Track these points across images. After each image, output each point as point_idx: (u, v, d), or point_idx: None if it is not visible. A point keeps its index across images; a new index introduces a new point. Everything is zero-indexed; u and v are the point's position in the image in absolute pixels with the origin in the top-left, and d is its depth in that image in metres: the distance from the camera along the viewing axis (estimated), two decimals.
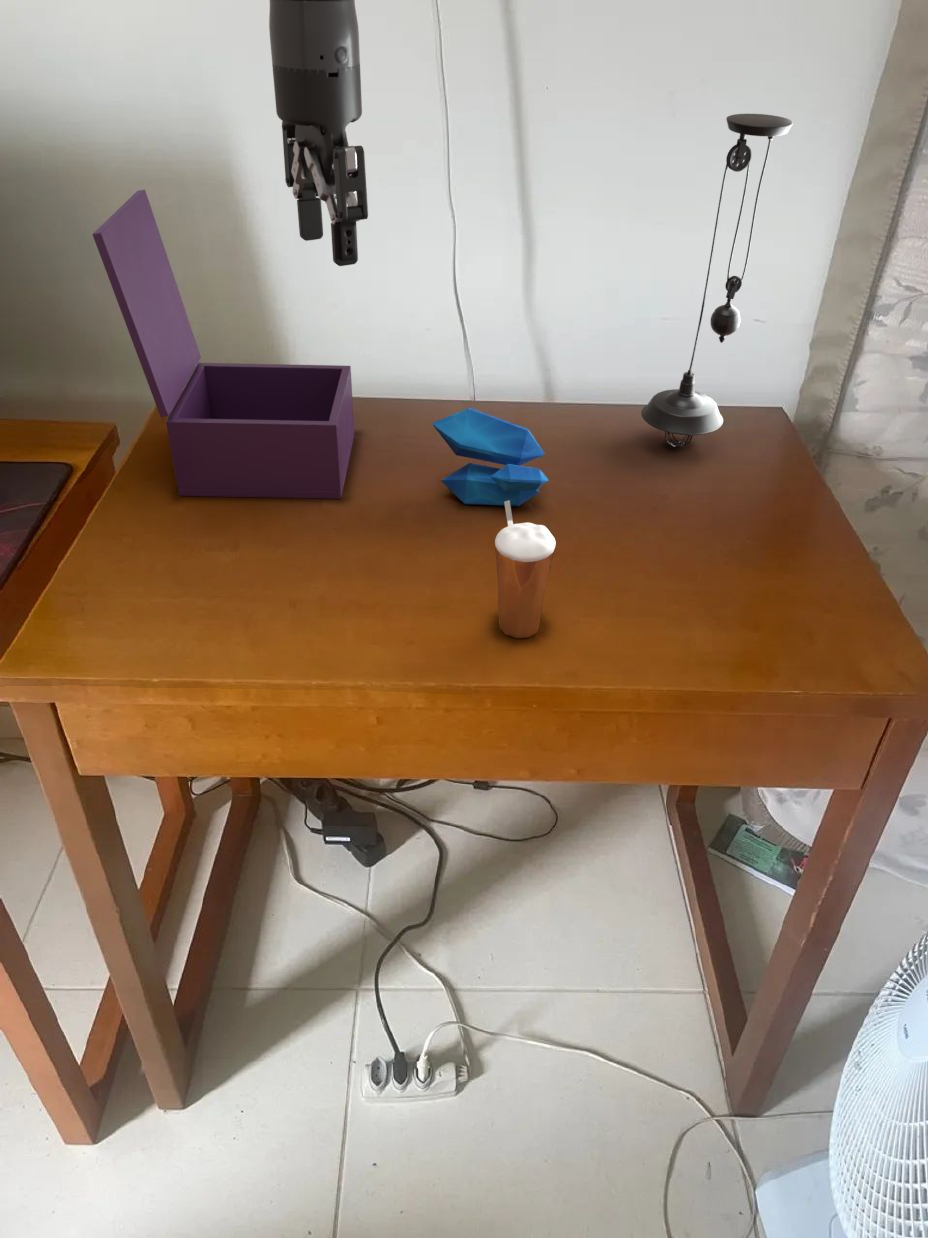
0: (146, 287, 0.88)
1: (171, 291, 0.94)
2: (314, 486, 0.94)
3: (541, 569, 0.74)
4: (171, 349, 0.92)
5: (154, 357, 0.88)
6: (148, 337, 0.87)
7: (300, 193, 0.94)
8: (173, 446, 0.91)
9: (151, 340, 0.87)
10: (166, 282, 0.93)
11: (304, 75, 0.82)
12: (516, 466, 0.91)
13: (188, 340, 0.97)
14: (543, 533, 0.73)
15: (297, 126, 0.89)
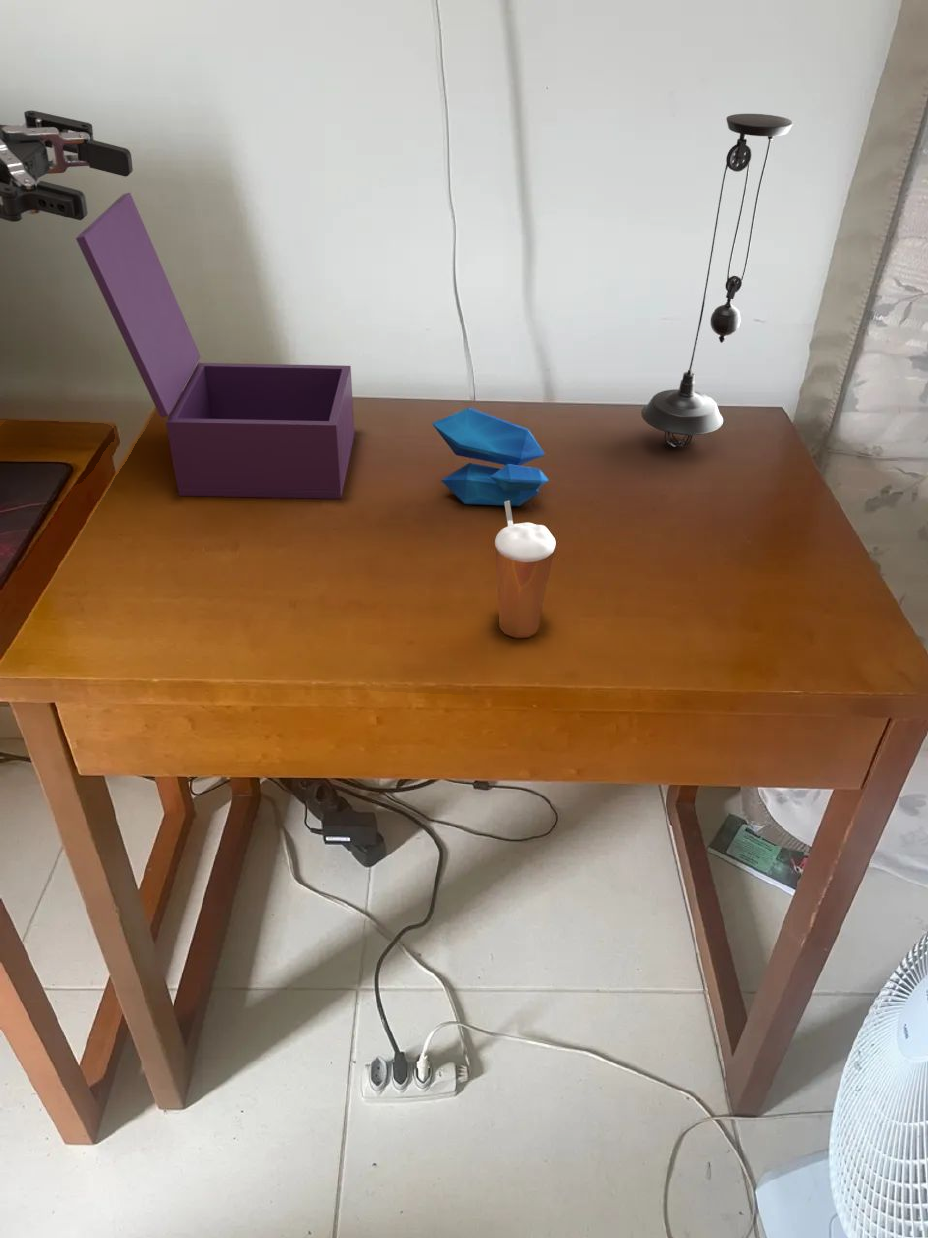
0: (137, 289, 0.88)
1: (165, 292, 0.94)
2: (314, 486, 0.94)
3: (541, 569, 0.74)
4: (167, 349, 0.92)
5: (149, 358, 0.88)
6: (141, 338, 0.87)
7: None
8: (173, 446, 0.91)
9: (144, 340, 0.87)
10: (158, 283, 0.93)
11: None
12: (516, 466, 0.91)
13: (186, 340, 0.97)
14: (543, 533, 0.73)
15: None
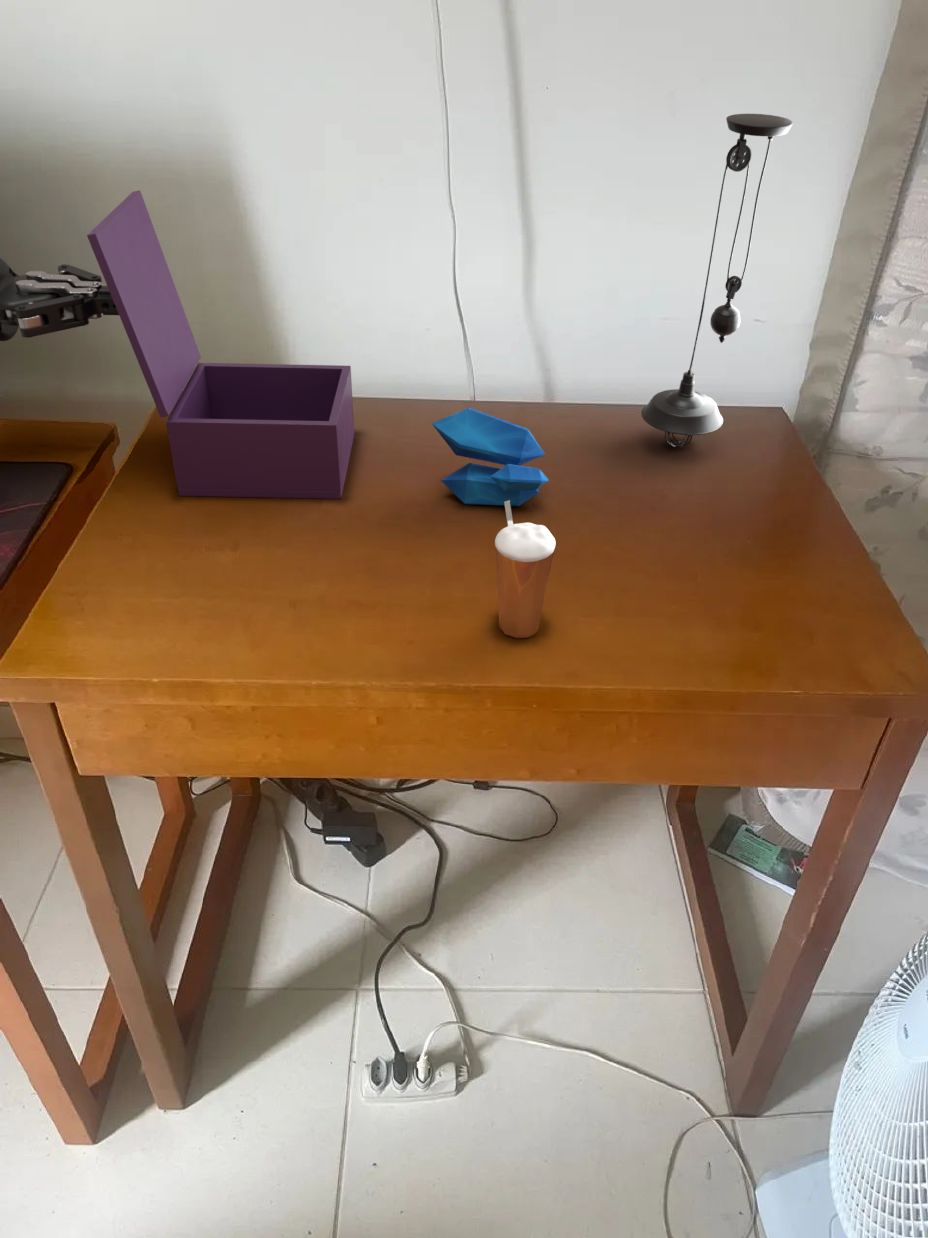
0: (143, 287, 0.88)
1: (169, 291, 0.94)
2: (314, 486, 0.94)
3: (541, 569, 0.74)
4: (170, 349, 0.92)
5: (152, 357, 0.88)
6: (146, 337, 0.87)
7: None
8: (173, 446, 0.91)
9: (149, 340, 0.87)
10: (163, 282, 0.93)
11: None
12: (516, 466, 0.91)
13: (187, 340, 0.97)
14: (543, 533, 0.73)
15: (0, 299, 0.86)
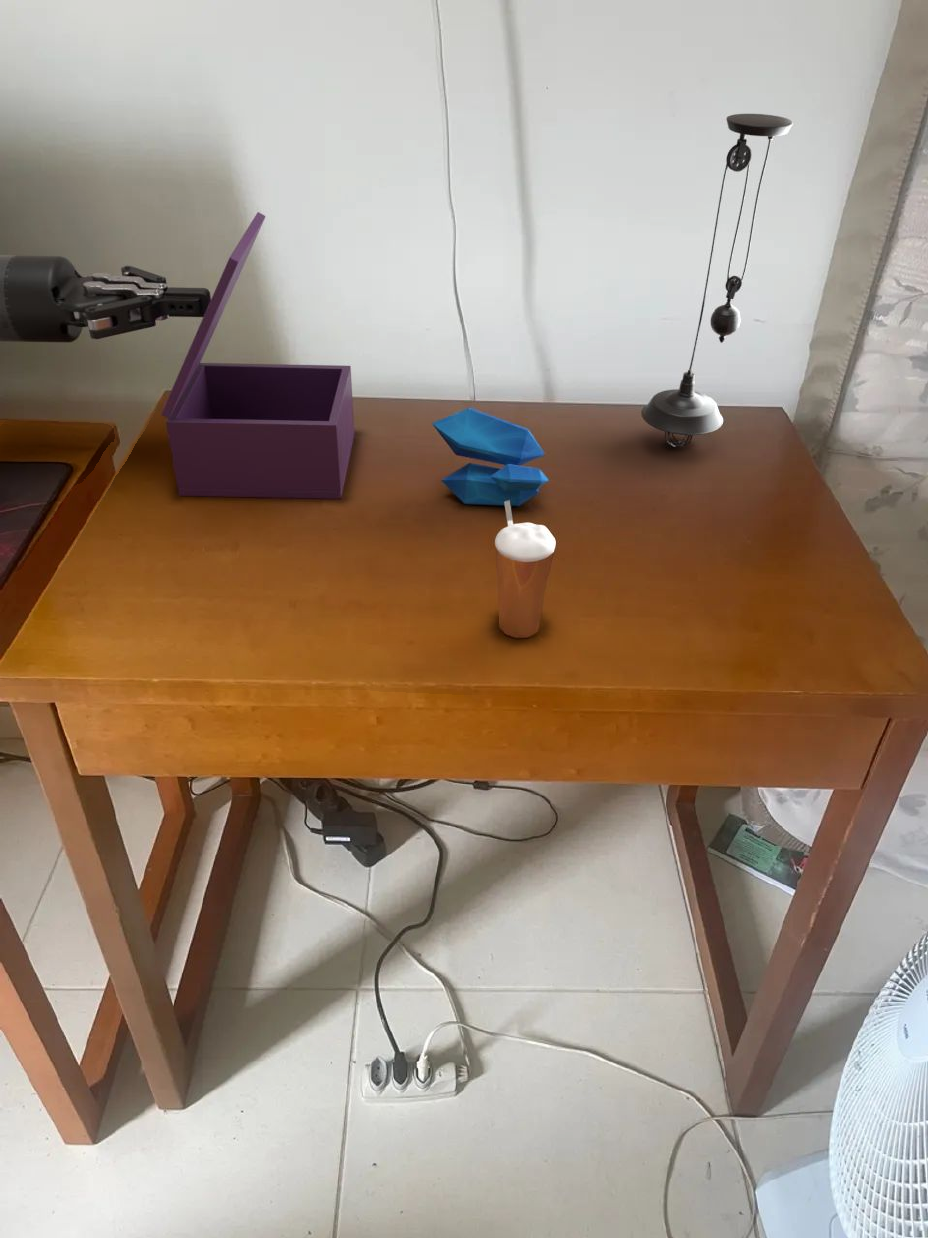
0: (222, 304, 0.89)
1: (225, 304, 0.95)
2: (314, 486, 0.94)
3: (541, 569, 0.74)
4: (199, 357, 0.92)
5: (192, 367, 0.88)
6: (200, 349, 0.87)
7: None
8: (173, 446, 0.91)
9: (199, 351, 0.88)
10: None
11: None
12: (516, 466, 0.91)
13: (206, 346, 0.97)
14: (543, 533, 0.73)
15: (68, 301, 0.86)
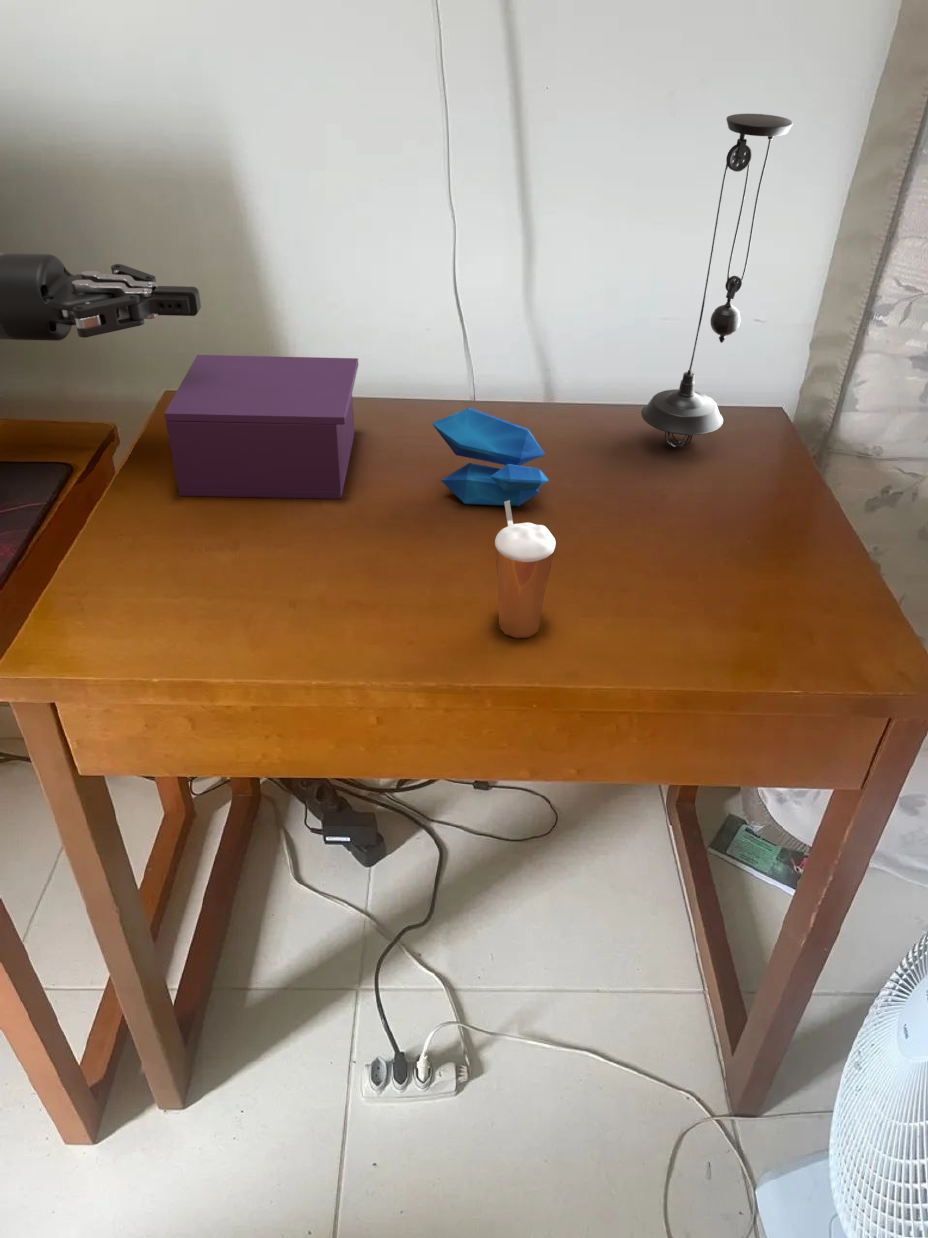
0: None
1: None
2: (314, 486, 0.94)
3: (541, 569, 0.74)
4: None
5: None
6: None
7: None
8: (173, 446, 0.91)
9: None
10: None
11: None
12: (516, 466, 0.91)
13: None
14: (543, 533, 0.73)
15: (56, 299, 0.86)
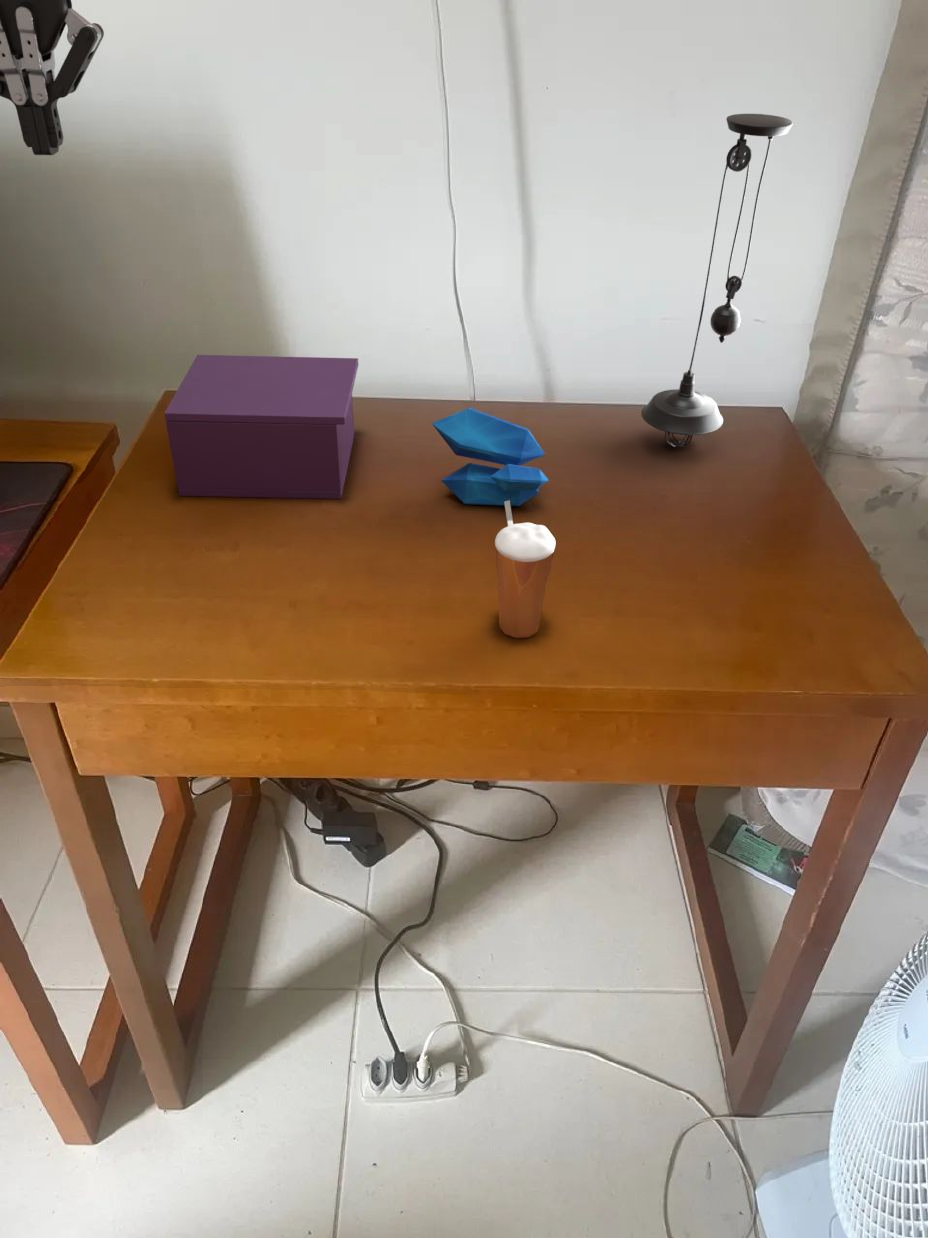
0: None
1: None
2: (314, 486, 0.94)
3: (541, 569, 0.74)
4: None
5: None
6: None
7: (25, 89, 0.79)
8: (173, 446, 0.91)
9: None
10: None
11: None
12: (516, 466, 0.91)
13: None
14: (543, 533, 0.73)
15: None
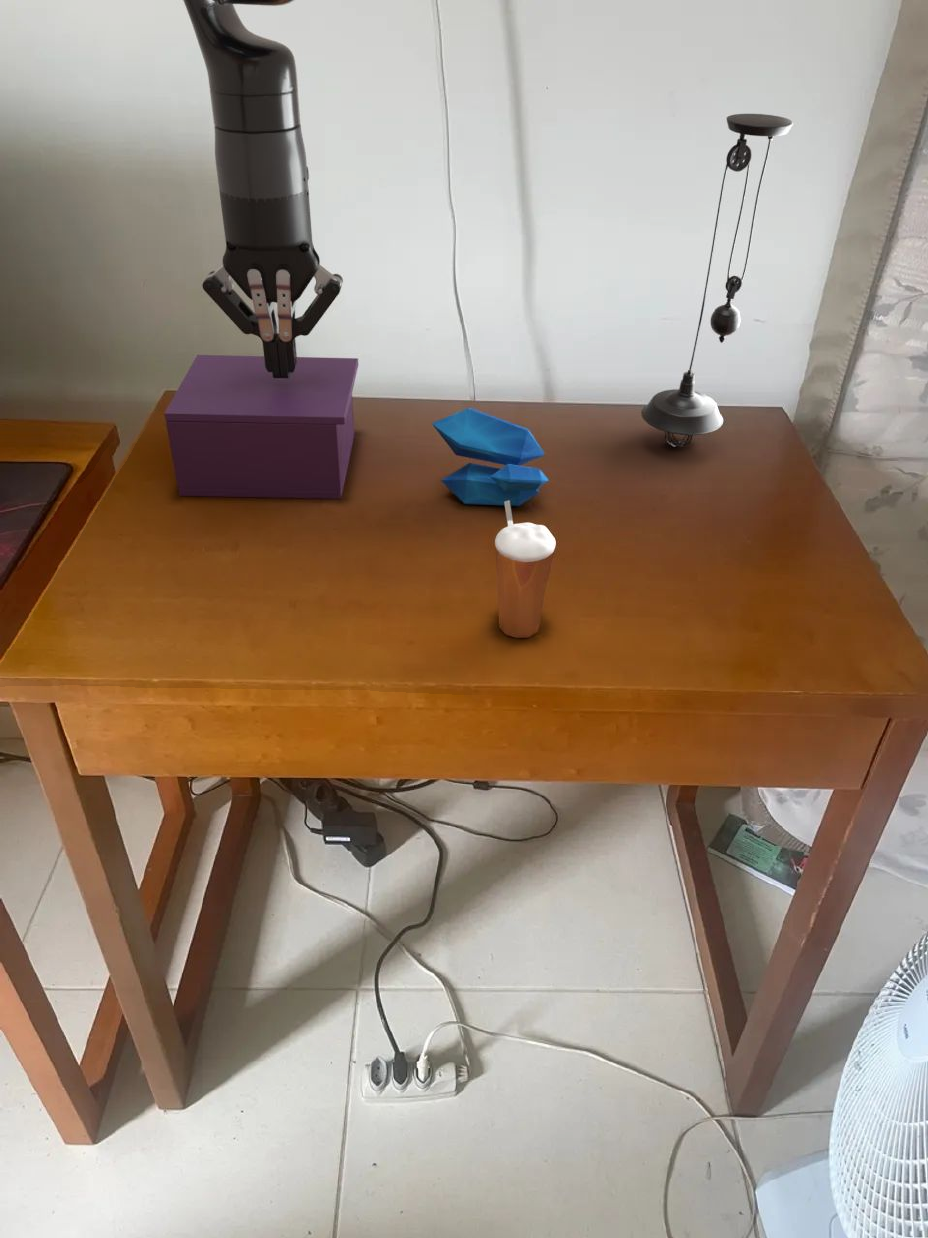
0: None
1: None
2: (314, 486, 0.94)
3: (541, 569, 0.74)
4: None
5: None
6: None
7: (273, 328, 0.90)
8: (173, 446, 0.91)
9: None
10: None
11: (295, 200, 0.82)
12: (516, 466, 0.91)
13: None
14: (543, 533, 0.73)
15: (229, 255, 0.86)
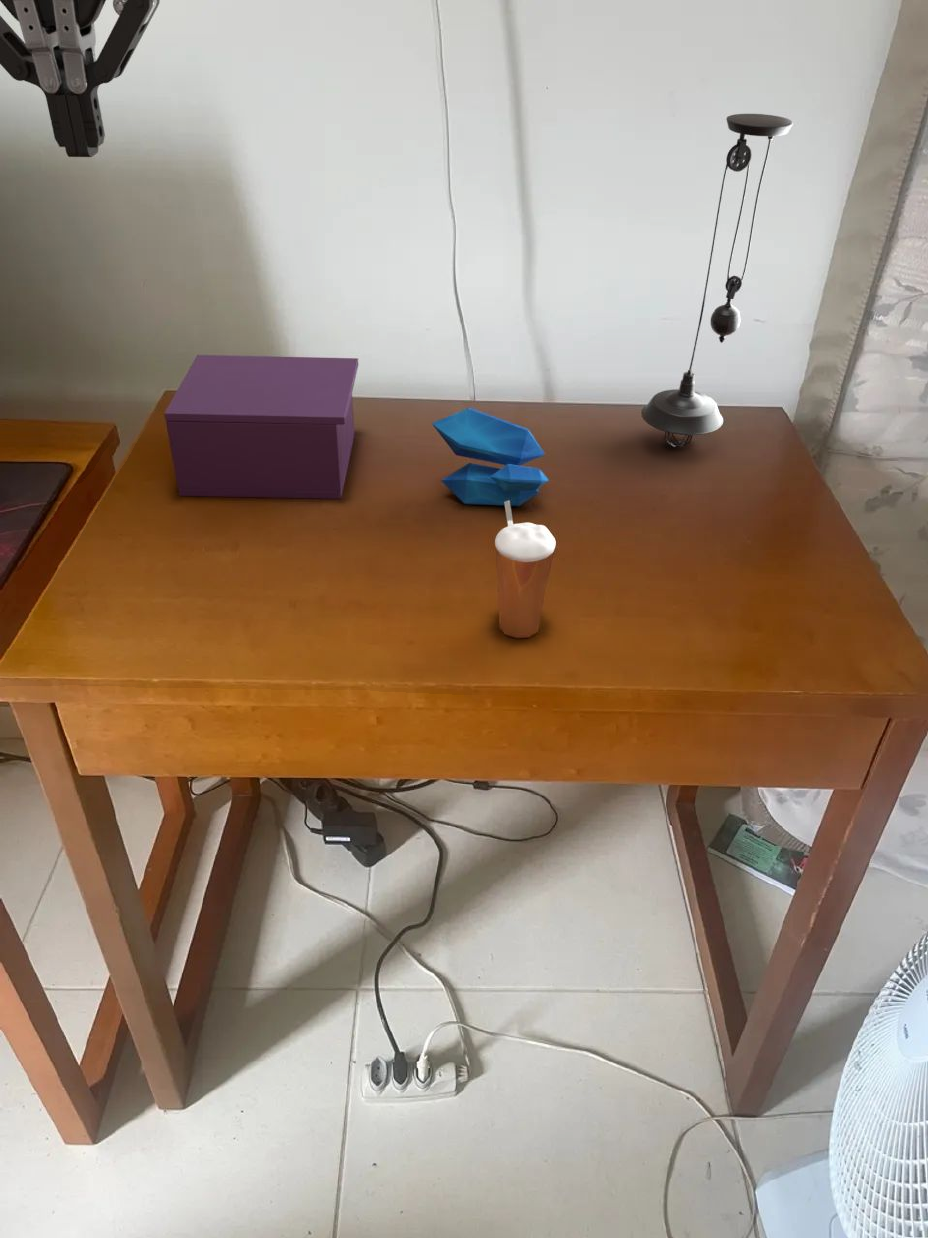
0: None
1: None
2: (314, 486, 0.94)
3: (541, 569, 0.74)
4: None
5: None
6: None
7: (58, 72, 0.61)
8: (173, 446, 0.91)
9: None
10: None
11: None
12: (516, 466, 0.91)
13: None
14: (543, 533, 0.73)
15: None
